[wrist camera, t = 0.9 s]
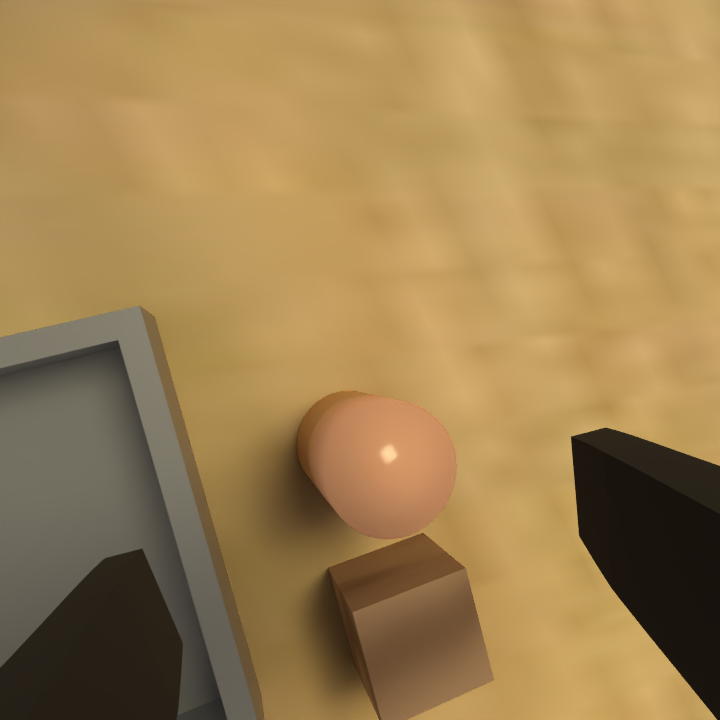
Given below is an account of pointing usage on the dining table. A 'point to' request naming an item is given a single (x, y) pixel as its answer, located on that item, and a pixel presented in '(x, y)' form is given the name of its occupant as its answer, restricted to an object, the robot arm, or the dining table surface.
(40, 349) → the tote
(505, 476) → the dining table surface
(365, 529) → the terracotta capsule
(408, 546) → the walnut cube
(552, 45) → the dining table surface
